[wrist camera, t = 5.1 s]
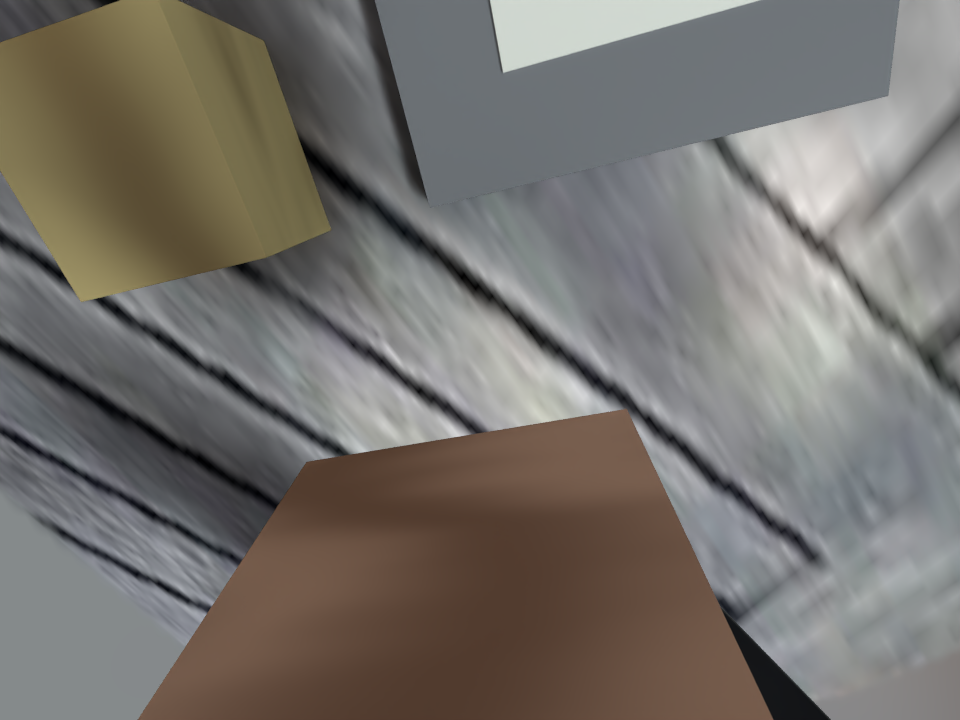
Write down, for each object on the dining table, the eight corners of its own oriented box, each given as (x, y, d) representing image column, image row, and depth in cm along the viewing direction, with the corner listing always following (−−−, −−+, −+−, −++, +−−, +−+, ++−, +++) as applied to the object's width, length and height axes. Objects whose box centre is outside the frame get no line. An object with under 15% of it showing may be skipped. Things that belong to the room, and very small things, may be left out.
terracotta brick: (400, 658, 11) (323, 1018, 6) (306, 461, 9) (78, 810, 4) (652, 635, 10) (773, 1032, 5) (626, 408, 8) (800, 778, 3)
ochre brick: (191, 264, 18) (81, 302, 13) (106, 91, 15) (-65, 65, 11) (332, 229, 17) (267, 257, 12) (265, 41, 14) (153, -12, 10)
